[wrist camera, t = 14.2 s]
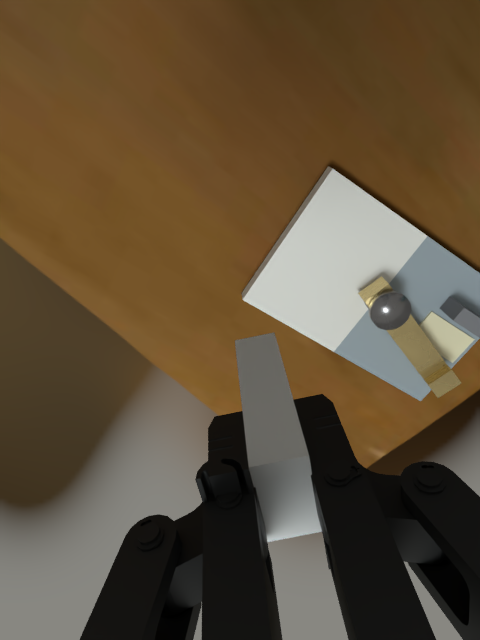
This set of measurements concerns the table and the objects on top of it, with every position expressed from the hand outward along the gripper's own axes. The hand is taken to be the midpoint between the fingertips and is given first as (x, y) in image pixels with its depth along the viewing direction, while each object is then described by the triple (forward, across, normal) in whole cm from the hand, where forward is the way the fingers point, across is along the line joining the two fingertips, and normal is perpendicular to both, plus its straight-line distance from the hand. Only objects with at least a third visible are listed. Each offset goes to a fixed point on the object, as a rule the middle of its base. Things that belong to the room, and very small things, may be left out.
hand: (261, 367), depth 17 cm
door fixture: (+26, +12, -10) cm, 31 cm away
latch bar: (+24, +14, -14) cm, 32 cm away
